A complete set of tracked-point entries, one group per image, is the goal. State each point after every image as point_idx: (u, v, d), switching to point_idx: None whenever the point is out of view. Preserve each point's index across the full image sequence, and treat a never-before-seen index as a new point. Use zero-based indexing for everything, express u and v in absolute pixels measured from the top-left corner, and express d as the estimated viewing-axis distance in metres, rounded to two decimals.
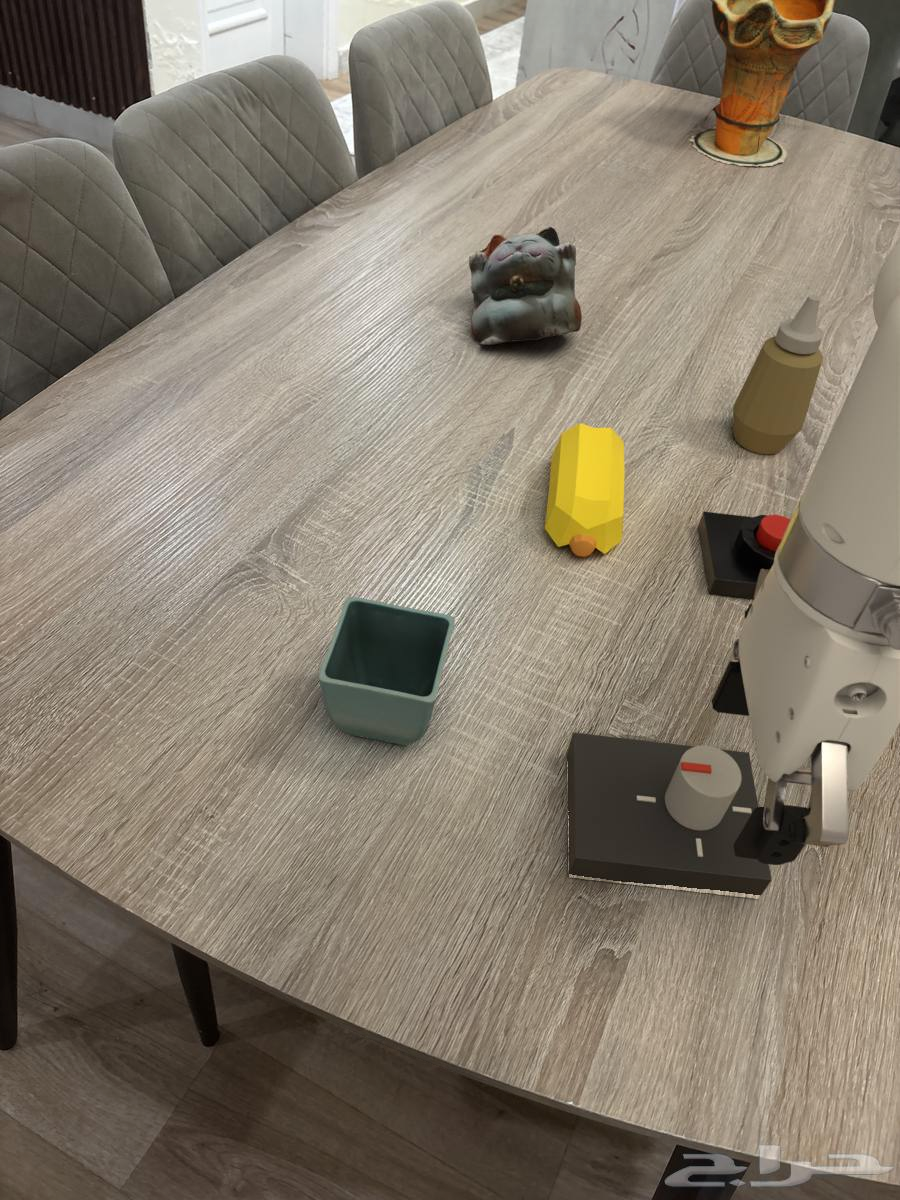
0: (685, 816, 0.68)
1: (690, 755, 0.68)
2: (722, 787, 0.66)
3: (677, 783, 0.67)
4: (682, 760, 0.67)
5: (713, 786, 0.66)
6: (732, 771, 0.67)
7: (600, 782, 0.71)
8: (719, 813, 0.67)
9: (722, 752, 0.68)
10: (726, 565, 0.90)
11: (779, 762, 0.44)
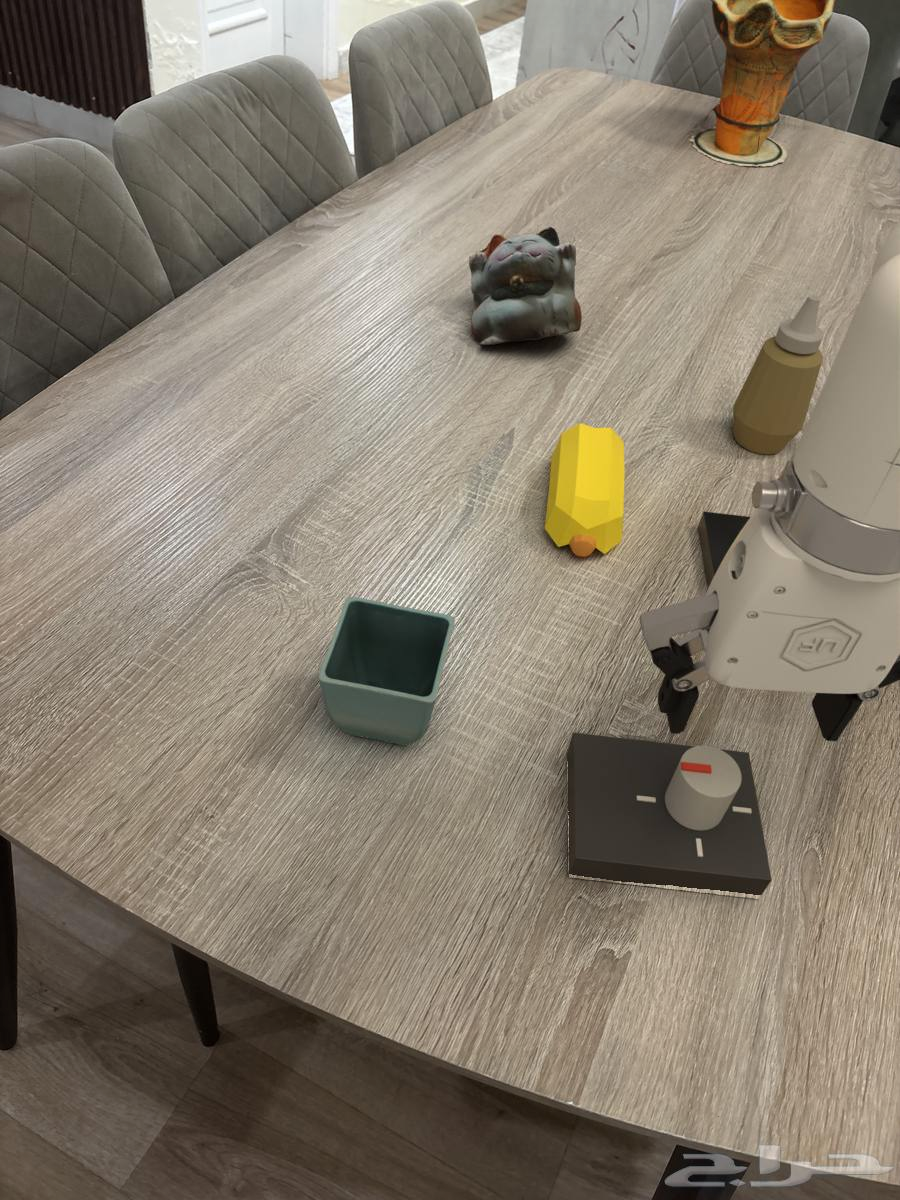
0: (685, 816, 0.68)
1: (690, 755, 0.68)
2: (722, 787, 0.66)
3: (677, 783, 0.67)
4: (682, 760, 0.67)
5: (713, 786, 0.66)
6: (732, 771, 0.67)
7: (600, 782, 0.71)
8: (719, 813, 0.67)
9: (722, 752, 0.68)
10: None
11: None
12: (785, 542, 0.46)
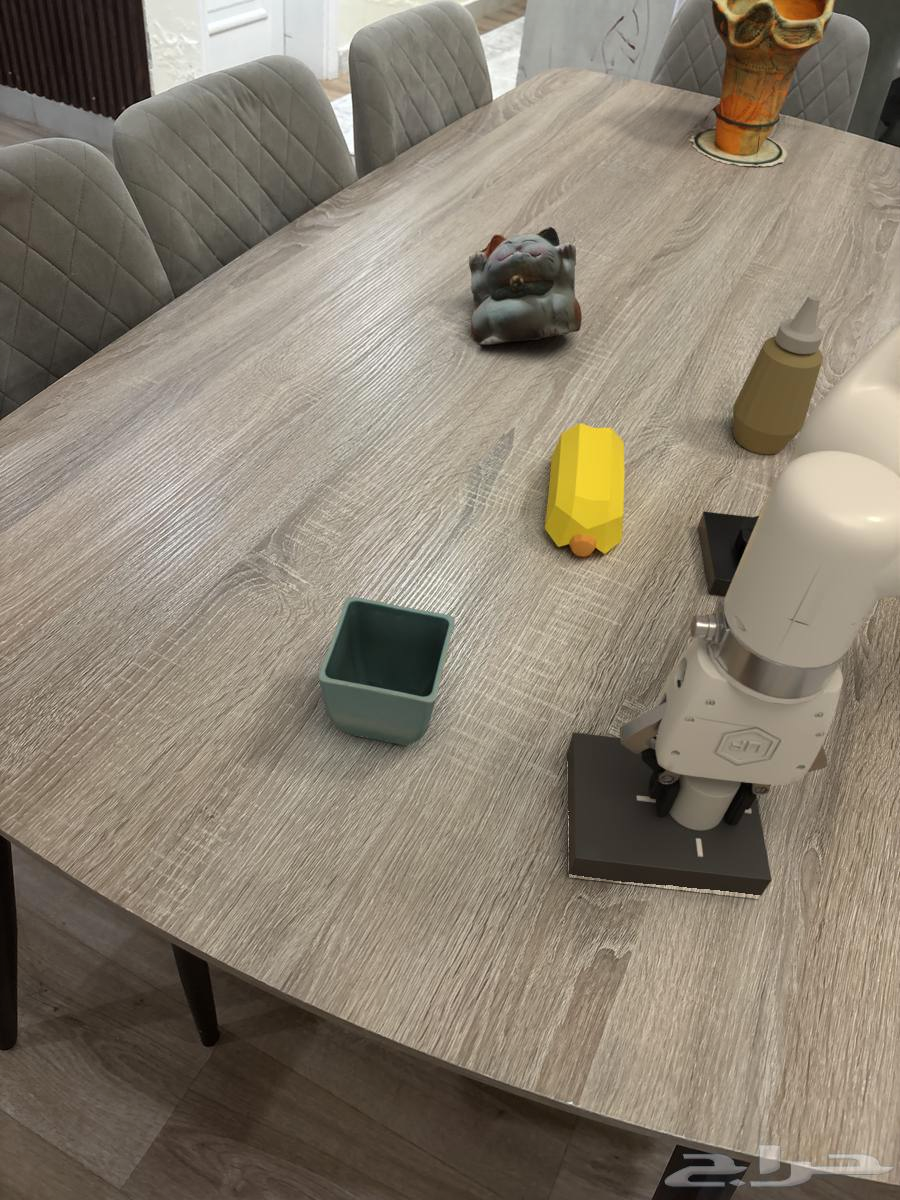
0: (685, 816, 0.68)
1: None
2: (722, 787, 0.66)
3: None
4: None
5: (713, 786, 0.66)
6: None
7: (600, 782, 0.71)
8: (719, 813, 0.67)
9: None
10: (726, 565, 0.90)
11: None
12: (715, 665, 0.57)
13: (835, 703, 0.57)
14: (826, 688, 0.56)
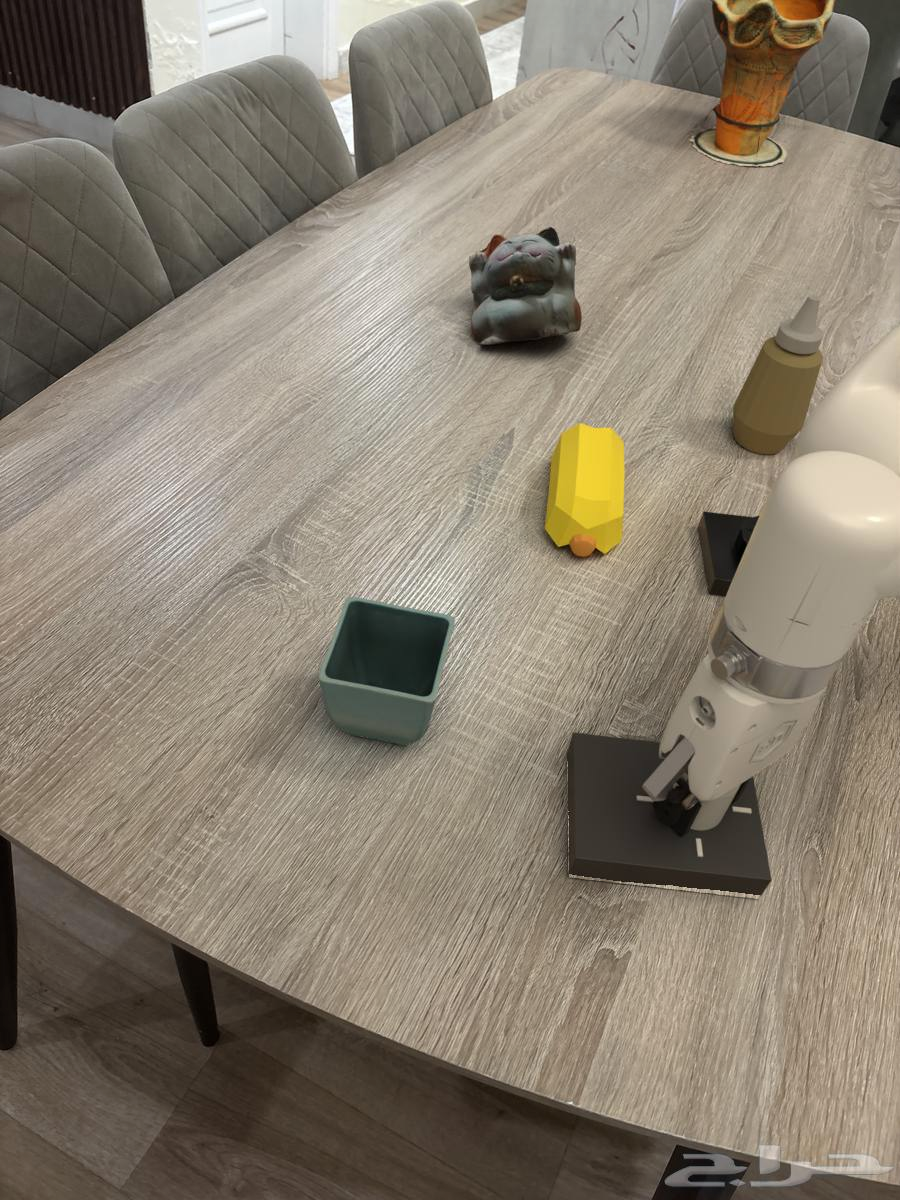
0: (704, 822, 0.68)
1: None
2: None
3: None
4: (685, 776, 0.66)
5: None
6: None
7: (600, 782, 0.71)
8: None
9: None
10: (726, 565, 0.90)
11: (661, 739, 0.62)
12: (746, 692, 0.56)
13: None
14: None
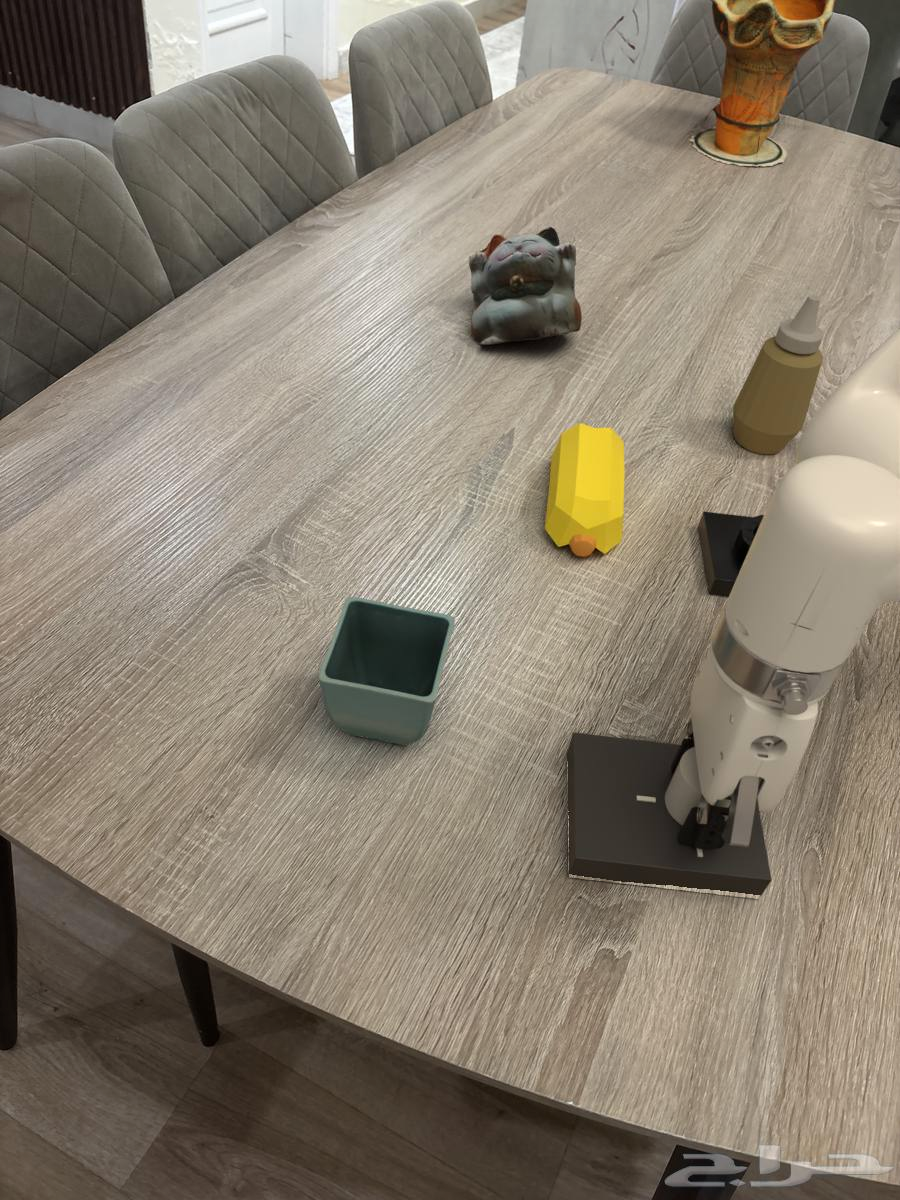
0: None
1: (697, 785, 0.66)
2: None
3: None
4: None
5: None
6: None
7: (600, 782, 0.71)
8: None
9: (685, 756, 0.68)
10: (726, 565, 0.90)
11: (714, 790, 0.60)
12: None
13: None
14: None
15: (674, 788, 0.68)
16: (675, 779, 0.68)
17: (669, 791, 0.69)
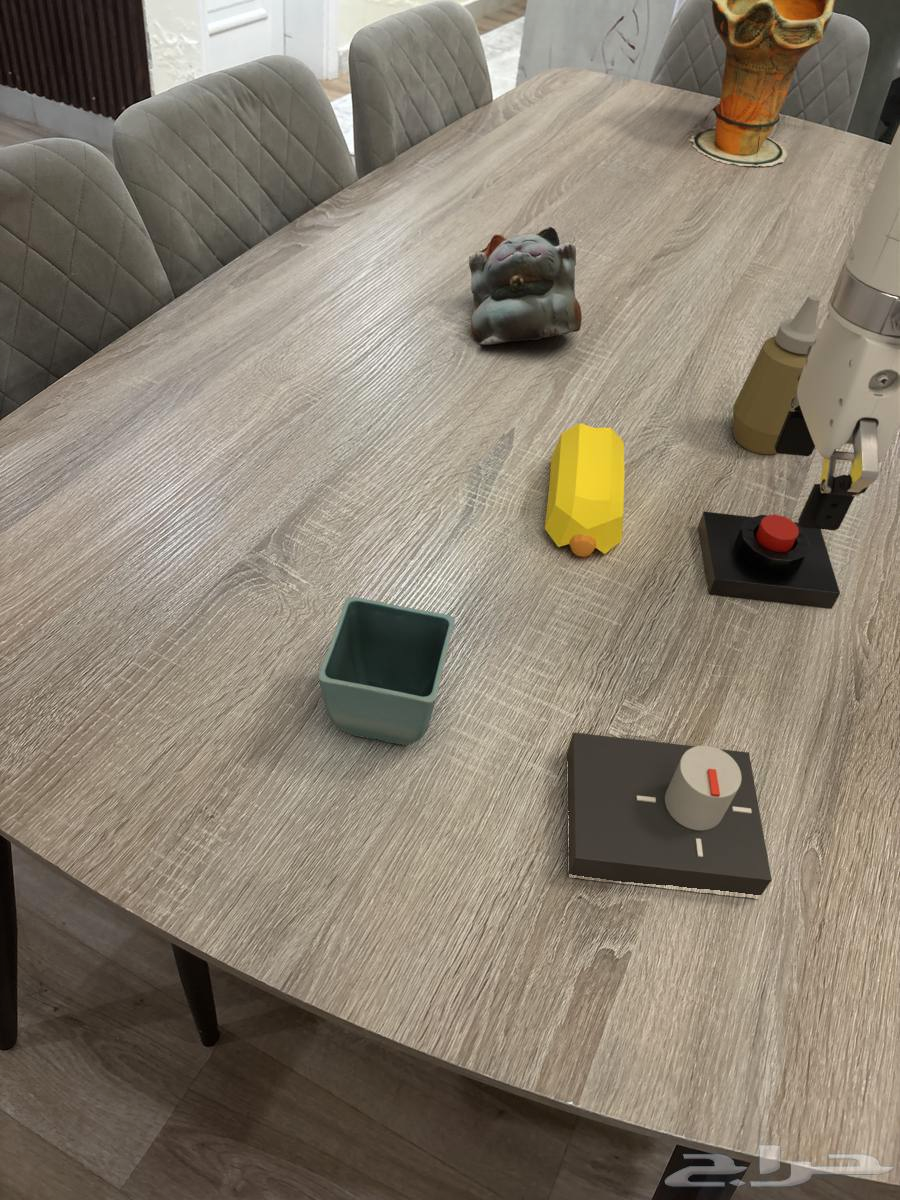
0: None
1: (697, 785, 0.66)
2: (728, 764, 0.67)
3: (716, 807, 0.66)
4: (706, 793, 0.65)
5: (729, 772, 0.67)
6: (706, 752, 0.68)
7: (600, 782, 0.71)
8: None
9: (685, 756, 0.68)
10: (726, 565, 0.90)
11: (832, 439, 0.69)
12: None
13: None
14: None
15: (674, 788, 0.68)
16: (675, 779, 0.68)
17: (669, 791, 0.69)
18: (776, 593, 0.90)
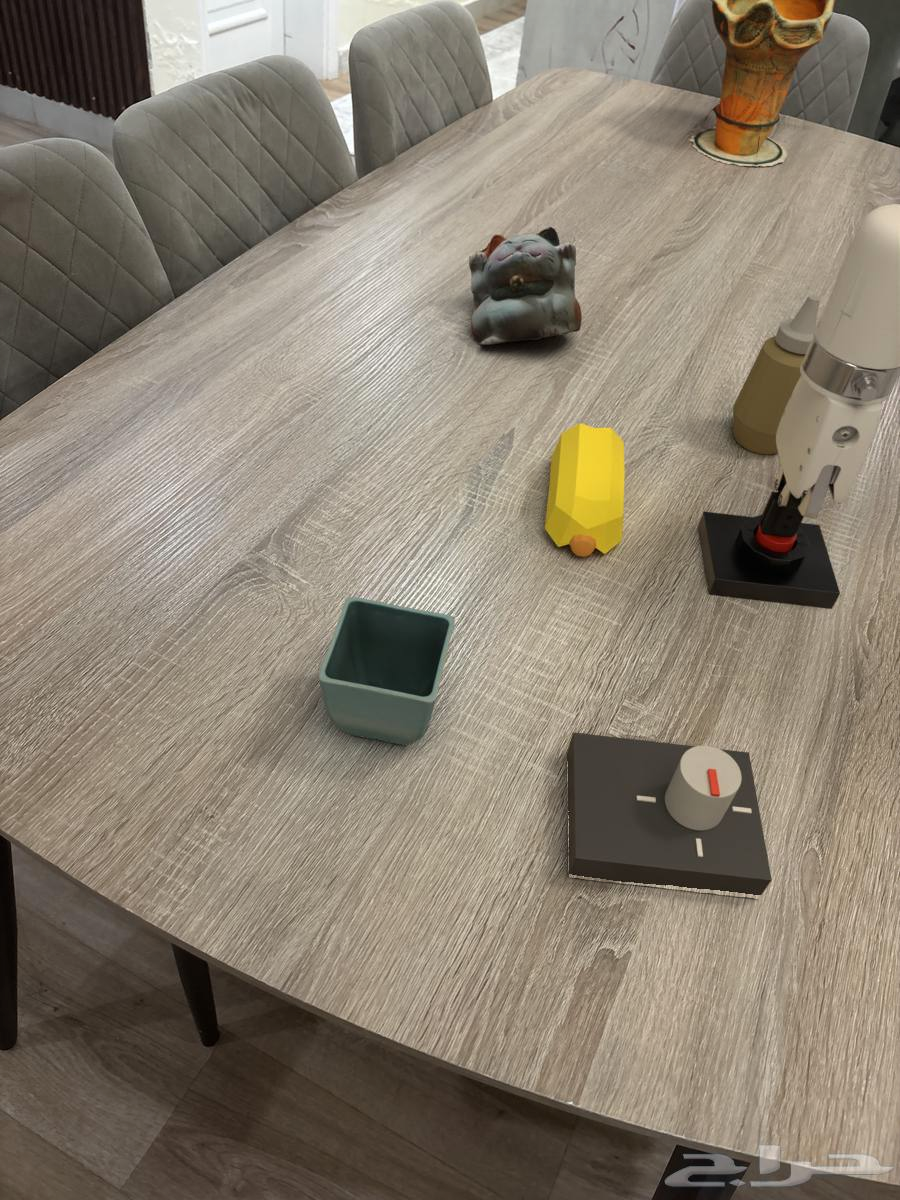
0: None
1: (697, 785, 0.66)
2: (728, 764, 0.67)
3: (716, 807, 0.66)
4: (706, 793, 0.65)
5: (729, 772, 0.67)
6: (706, 752, 0.68)
7: (600, 782, 0.71)
8: None
9: (685, 756, 0.68)
10: (726, 565, 0.90)
11: (802, 482, 0.80)
12: (871, 403, 0.76)
13: None
14: None
15: (674, 788, 0.68)
16: (675, 779, 0.68)
17: (669, 791, 0.69)
18: (776, 593, 0.90)
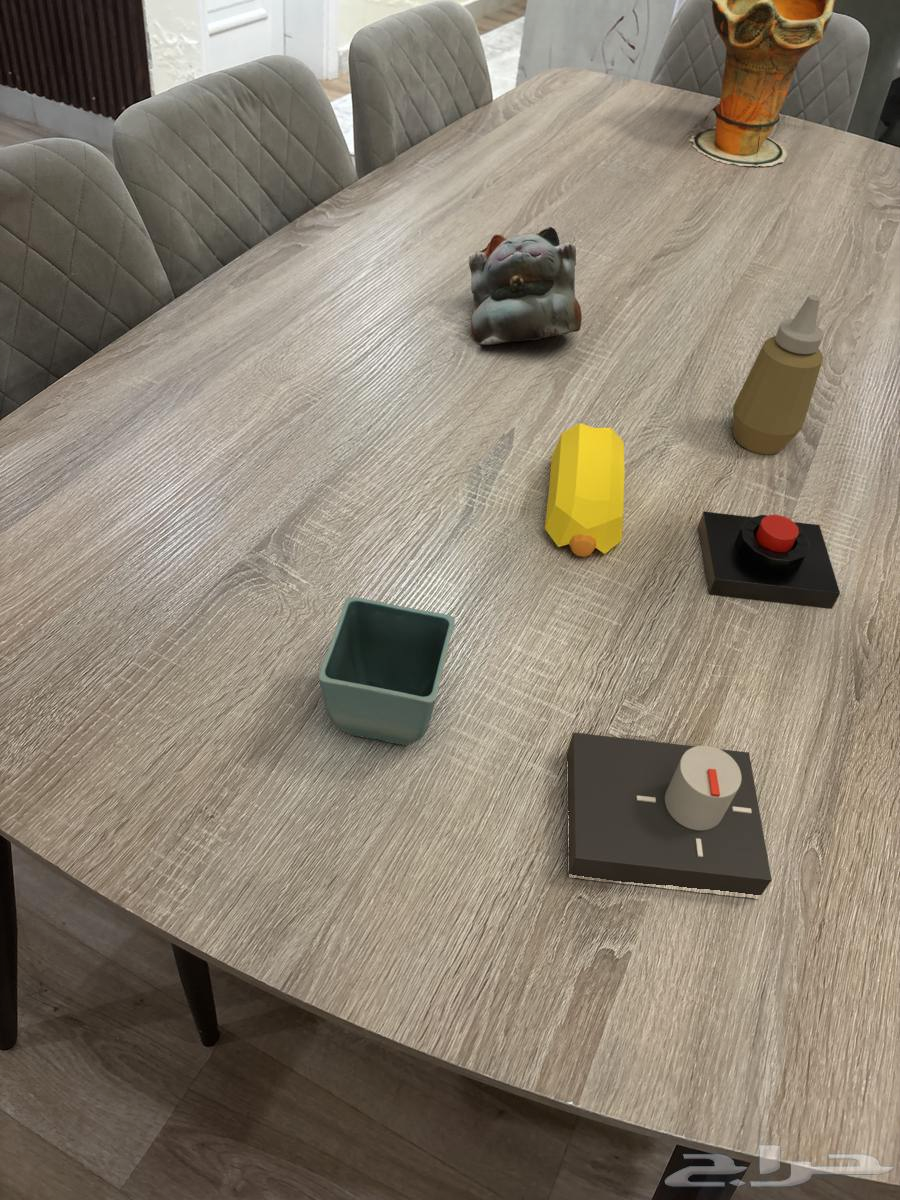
0: None
1: (697, 785, 0.66)
2: (728, 764, 0.67)
3: (716, 807, 0.66)
4: (706, 793, 0.65)
5: (729, 772, 0.67)
6: (706, 752, 0.68)
7: (600, 782, 0.71)
8: None
9: (685, 756, 0.68)
10: (726, 565, 0.90)
11: None
12: None
13: None
14: None
15: (674, 788, 0.68)
16: (675, 779, 0.68)
17: (669, 791, 0.69)
18: (776, 593, 0.90)
